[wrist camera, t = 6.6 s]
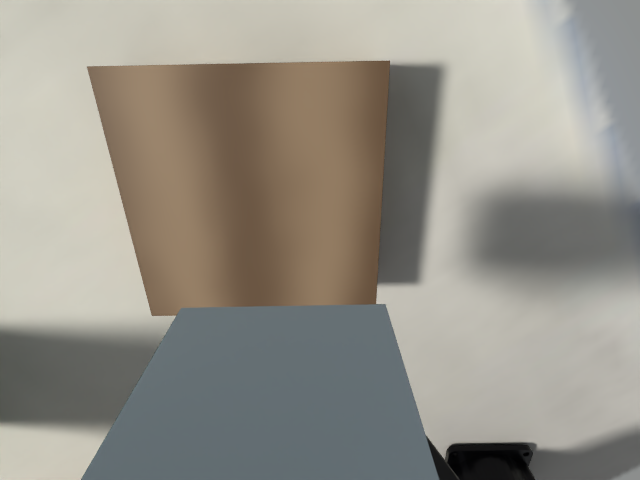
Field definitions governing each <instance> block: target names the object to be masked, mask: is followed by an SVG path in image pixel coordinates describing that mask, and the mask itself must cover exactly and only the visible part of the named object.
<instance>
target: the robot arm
mask: <svg viewBox="0 0 640 480" xmlns="http://www.w3.org/2000/svg"><path fill="white" fill-rule="evenodd" d="M426 438H427V442H428V445H429V448H430V451H431V455H432V458H433V461H434V464H435V468H436V471H437V474H438V477H439V480H535V478H534V476H533V474H532V473H531V471H530V469H529V467H528V466H529V463H530V461H531V458H532V455H533V452H532V450H531V449H530V447H529V446H527V445H497V446H451V447H449V448H448V449H447V452H446V457H445V460H444V459H443V457H442V456H441V455H440V453H439V452H438V451H437V449H436V448H435V447H434V445H433V444H432V443H431V441H430V440H429V439H428V437H427V436H426Z"/></svg>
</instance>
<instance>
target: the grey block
mask: <svg viewBox="0 0 640 480" xmlns="http://www.w3.org/2000/svg"><path fill="white" fill-rule="evenodd" d="M81 480H439V477H438V474H437V471H436V468H435V464H434V461H433V458H432V455H431V451H430V448H429V445H428V442H427V438H426V435H425V432H424V428H423V425H422V422H421V419H420V415H419V412H418V409H417V406H416V402H415V399H414V396H413V393H412V389H411V386H410V383H409V380H408V376H407V373H406V370H405V367H404V363H403V360H402V357H401V354H400V350H399V347H398V344H397V340H396V337H395V334H394V331H393V327H392V324H391V321H390V318H389V314H388V311H387V308H386V305H385V304H368V305H311V306H255V307H199V308H181V309H180V311H179V312H178V314H177V316H176V317H175V319H174V321H173V323H172V324H171V326H170V328H169V330H168V331H167V333H166V335H165V336H164V338H163V340H162V342H161V343H160V345H159V347H158V348H157V350H156V352H155V354H154V355H153V357H152V359H151V360H150V362H149V364H148V366H147V367H146V369H145V371H144V372H143V374H142V376H141V378H140V379H139V381H138V383H137V384H136V386H135V388H134V390H133V391H132V393H131V395H130V396H129V398H128V400H127V402H126V403H125V405H124V407H123V408H122V410H121V412H120V414H119V415H118V417H117V419H116V420H115V422H114V424H113V426H112V427H111V429H110V431H109V432H108V434H107V436H106V438H105V439H104V441H103V443H102V444H101V446H100V448H99V450H98V451H97V453H96V455H95V456H94V458H93V460H92V462H91V463H90V465H89V467H88V468H87V470H86V472H85V474H84V475H83V477H82V479H81Z"/></svg>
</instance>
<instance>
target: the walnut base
mask: <svg viewBox="0 0 640 480" xmlns="http://www.w3.org/2000/svg"><path fill="white" fill-rule="evenodd" d="M87 68H88V72H89V76H90V80H91V84H92V88H93V91H94V95H95V99H96V103H97V107H98V111H99V114H100V118H101V122H102V126H103V130H104V134H105V138H106V141H107V145H108V149H109V153H110V157H111V161H112V164H113V168H114V172H115V176H116V180H117V184H118V187H119V191H120V195H121V199H122V203H123V207H124V211H125V214H126V218H127V222H128V226H129V230H130V234H131V237H132V241H133V245H134V249H135V253H136V257H137V260H138V264H139V268H140V272H141V276H142V280H143V284H144V287H145V291H146V295H147V299H148V303H149V307H150V310H151V314H152V316H172V315H177V314H178V312H179V311H180V309H181V308H199V307H255V306H311V305H368V304H376V294H377V277H378V260H379V243H380V225H381V208H382V191H383V173H384V156H385V139H386V122H387V104H388V87H389V70H390V61H352V62H299V63H247V64H195V65H143V66H91V67H87Z"/></svg>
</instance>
